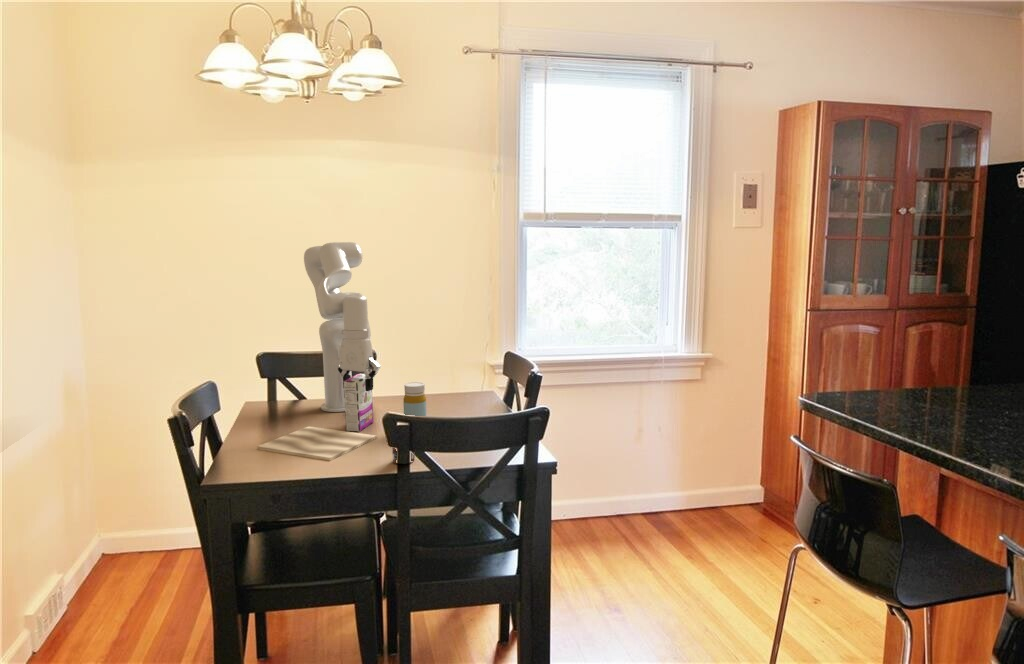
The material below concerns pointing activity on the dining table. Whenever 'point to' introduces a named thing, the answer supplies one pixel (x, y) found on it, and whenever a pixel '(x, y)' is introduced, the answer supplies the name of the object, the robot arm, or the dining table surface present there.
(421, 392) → the bottle
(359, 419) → the candy bar box
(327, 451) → the birch board
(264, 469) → the dining table surface
